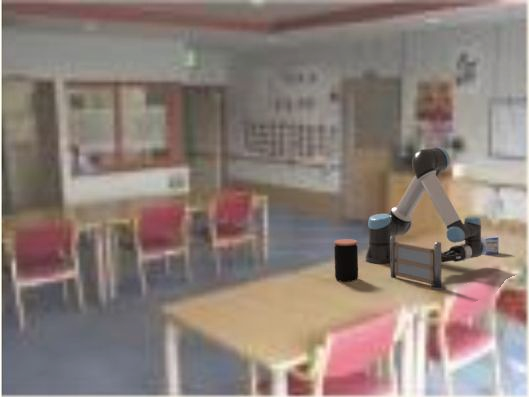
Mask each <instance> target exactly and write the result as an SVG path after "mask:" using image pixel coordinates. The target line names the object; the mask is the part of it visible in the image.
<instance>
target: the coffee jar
mask: <svg viewBox="0 0 529 397" xmlns="http://www.w3.org/2000/svg"><path fill="white" fill-rule="evenodd" d="M333 242H334V252H333V253H334V278H335V279H336V280H337V281H339V282H347V283H348V282H349V283H350V282H354V281H357V280H358V278H359V258H358V257H359V254H358V252H359V250H358V245H357V244H358V240H356V239H351V238H343V239H342V238H341V239H336V240H334V241H333Z"/></svg>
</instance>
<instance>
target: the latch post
mask: <svg viewBox="0 0 529 397" xmlns="http://www.w3.org/2000/svg"><path fill="white" fill-rule="evenodd" d="M394 242H396V237H394V236H392V237H390V262H389V263H390V277H391V278H396V277H397V276H395V266H394Z"/></svg>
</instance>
